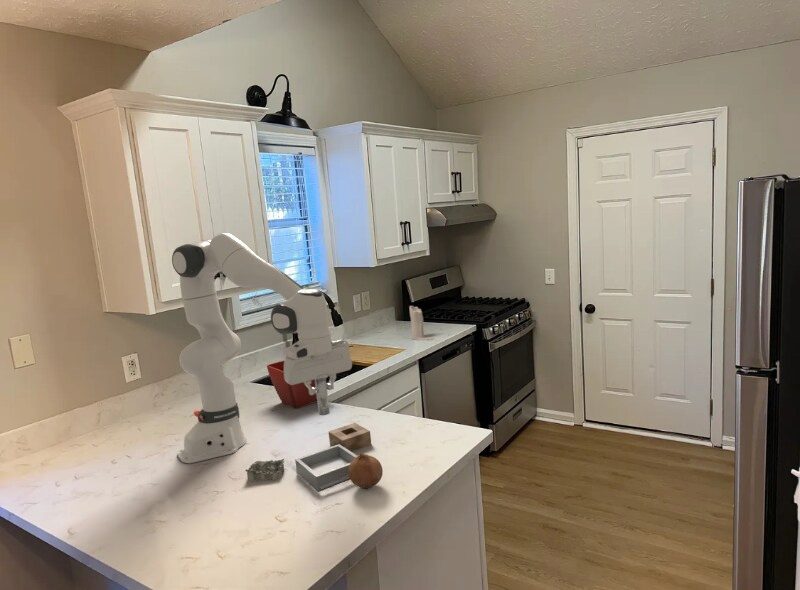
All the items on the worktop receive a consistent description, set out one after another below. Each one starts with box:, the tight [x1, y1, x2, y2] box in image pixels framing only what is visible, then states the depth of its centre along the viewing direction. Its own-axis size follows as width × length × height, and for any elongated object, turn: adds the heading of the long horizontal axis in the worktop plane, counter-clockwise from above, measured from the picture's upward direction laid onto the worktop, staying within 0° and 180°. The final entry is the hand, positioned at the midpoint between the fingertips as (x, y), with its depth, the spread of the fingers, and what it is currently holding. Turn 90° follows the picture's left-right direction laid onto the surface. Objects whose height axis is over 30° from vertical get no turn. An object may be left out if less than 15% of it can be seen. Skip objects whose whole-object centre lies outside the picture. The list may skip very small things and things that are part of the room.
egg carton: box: [244, 458, 285, 483], centre depth 163 cm, size 11×8×4 cm
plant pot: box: [266, 359, 317, 409], centre depth 226 cm, size 19×19×17 cm
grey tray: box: [294, 444, 358, 493], centre depth 160 cm, size 15×15×4 cm
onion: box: [348, 452, 384, 490], centre depth 150 cm, size 10×9×10 cm
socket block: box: [328, 422, 372, 453], centre depth 176 cm, size 10×10×6 cm
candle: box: [409, 305, 435, 341], centre depth 319 cm, size 7×14×20 cm, turn 59°
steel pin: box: [314, 374, 331, 416], centre depth 157 cm, size 5×5×12 cm
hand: (321, 391), depth 157 cm, fingers closed on steel pin, 4 cm apart
